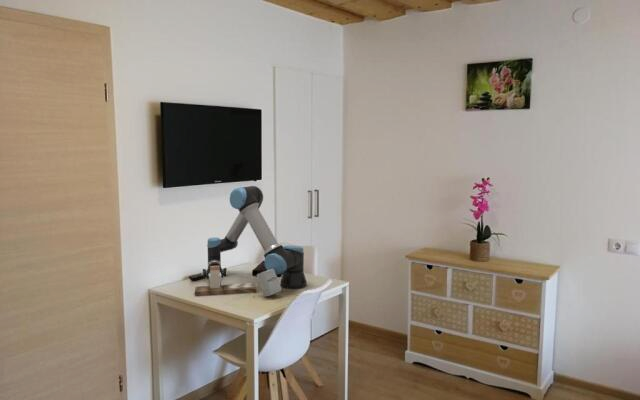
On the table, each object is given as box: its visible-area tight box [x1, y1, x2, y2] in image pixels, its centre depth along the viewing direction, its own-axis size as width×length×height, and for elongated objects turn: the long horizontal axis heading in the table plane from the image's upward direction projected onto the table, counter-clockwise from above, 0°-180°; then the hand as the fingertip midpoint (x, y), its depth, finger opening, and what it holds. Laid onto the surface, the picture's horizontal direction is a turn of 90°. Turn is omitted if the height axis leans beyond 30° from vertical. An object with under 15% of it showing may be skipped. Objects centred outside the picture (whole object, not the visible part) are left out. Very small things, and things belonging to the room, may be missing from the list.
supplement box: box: [256, 269, 282, 298], centre depth 272 cm, size 7×7×13 cm
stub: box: [209, 266, 221, 289], centre depth 278 cm, size 5×2×12 cm, turn 102°
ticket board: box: [194, 282, 258, 297], centre depth 281 cm, size 33×10×3 cm, turn 102°
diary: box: [251, 260, 283, 278], centre depth 325 cm, size 19×25×5 cm
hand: (215, 278), depth 273 cm, fingers closed on stub, 5 cm apart
